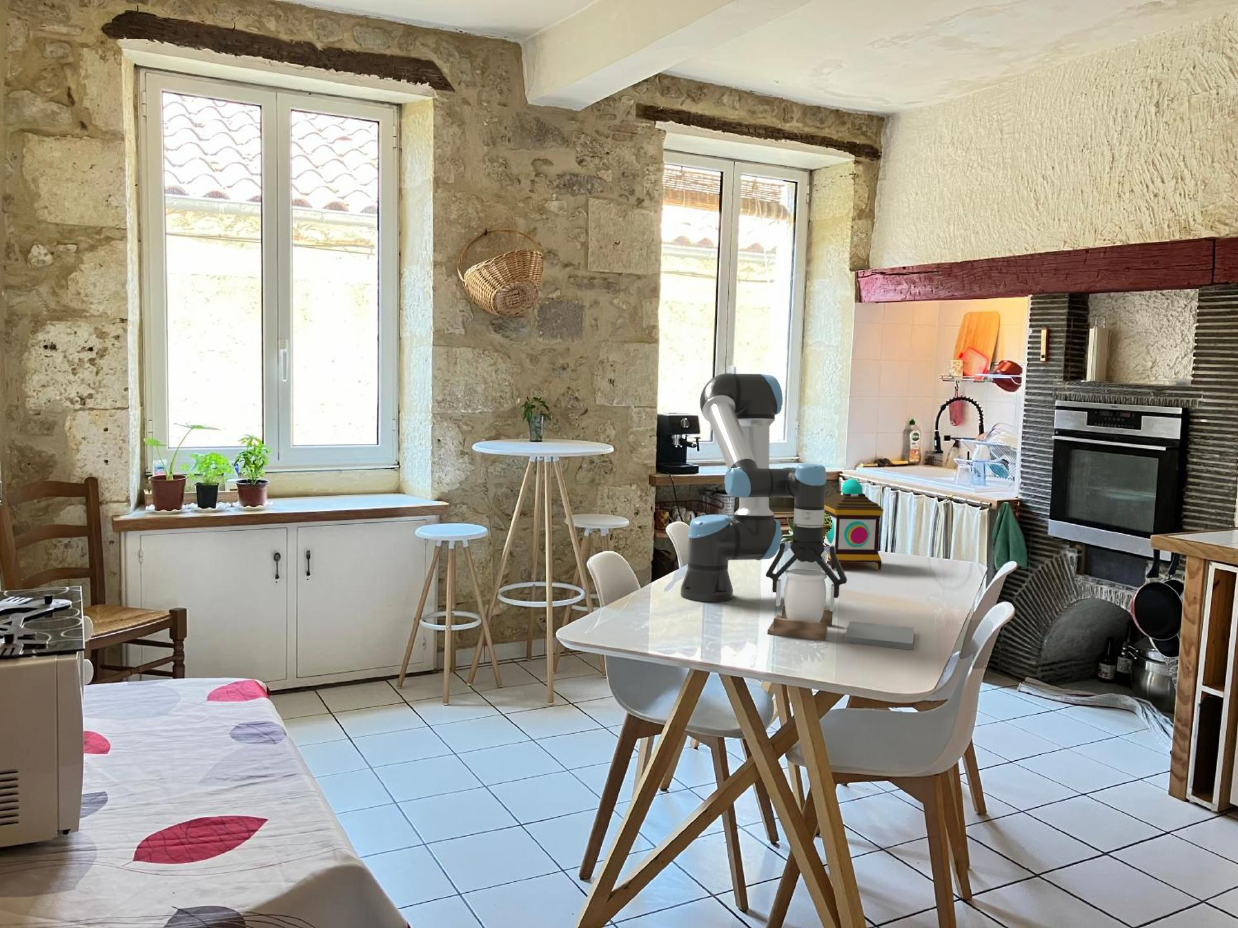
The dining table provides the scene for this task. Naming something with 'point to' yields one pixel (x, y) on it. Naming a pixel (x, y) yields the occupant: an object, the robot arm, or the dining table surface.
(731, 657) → the dining table surface
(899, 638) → the plate
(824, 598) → the jar
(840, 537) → the decorative lantern
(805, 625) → the brown wooden u-shaped frame
